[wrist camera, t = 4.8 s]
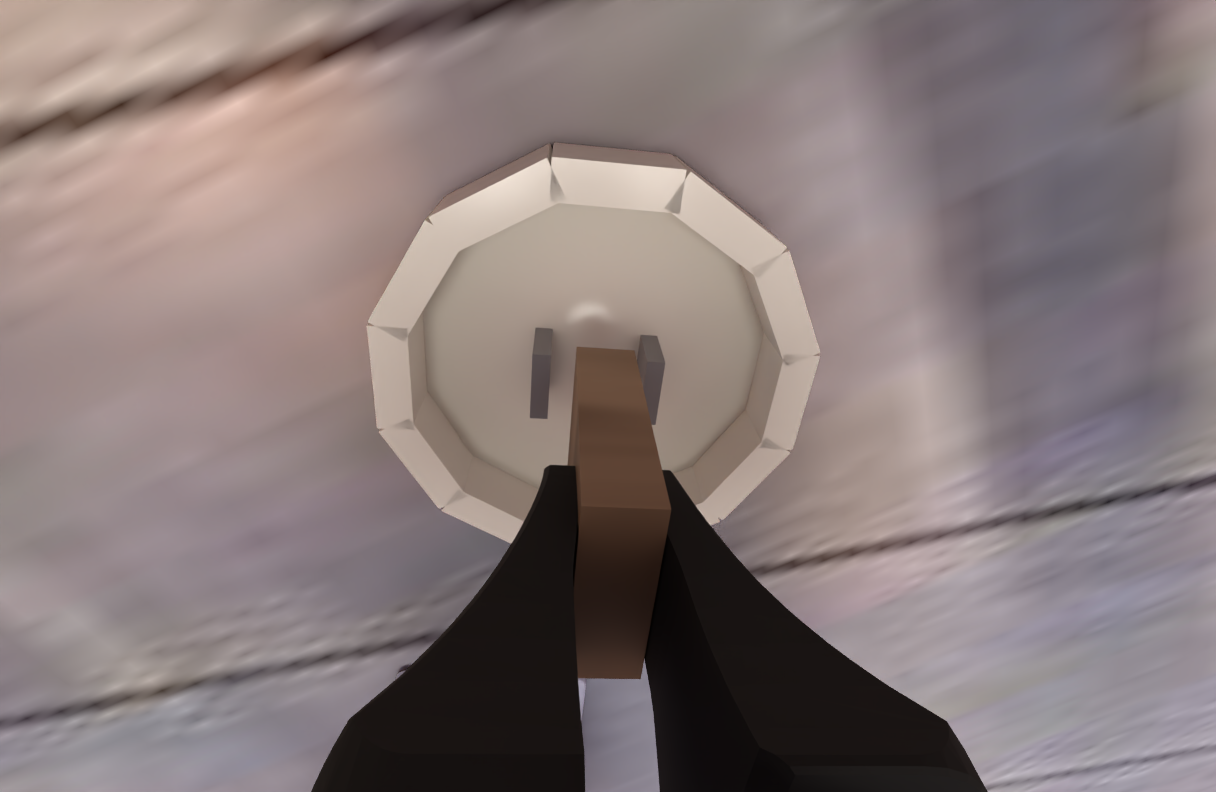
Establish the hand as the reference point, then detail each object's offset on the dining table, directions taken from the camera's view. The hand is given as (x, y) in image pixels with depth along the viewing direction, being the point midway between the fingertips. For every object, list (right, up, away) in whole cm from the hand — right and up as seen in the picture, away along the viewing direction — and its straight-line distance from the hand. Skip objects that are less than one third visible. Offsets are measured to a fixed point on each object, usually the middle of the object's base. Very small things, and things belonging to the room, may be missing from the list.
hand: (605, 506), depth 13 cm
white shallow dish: (0, +4, +6) cm, 7 cm away
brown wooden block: (0, +2, +3) cm, 4 cm away
